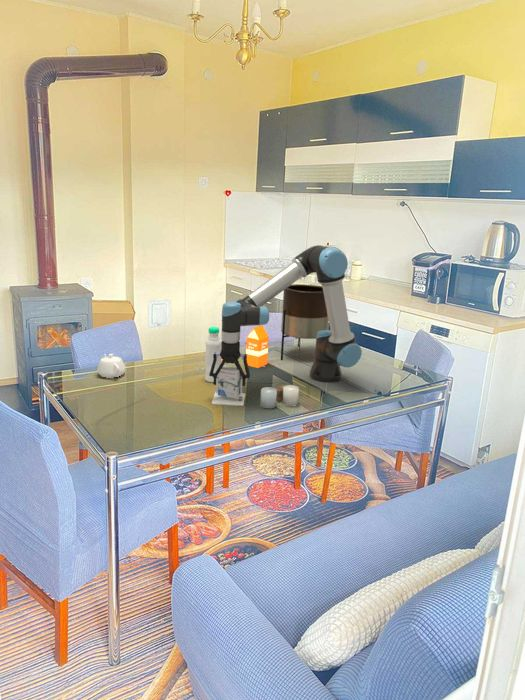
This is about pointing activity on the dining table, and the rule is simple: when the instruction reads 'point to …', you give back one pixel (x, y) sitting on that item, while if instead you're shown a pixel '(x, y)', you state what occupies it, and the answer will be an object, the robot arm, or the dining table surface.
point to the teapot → (111, 366)
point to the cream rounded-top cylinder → (290, 395)
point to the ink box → (229, 382)
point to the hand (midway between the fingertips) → (229, 392)
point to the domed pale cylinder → (268, 397)
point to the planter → (303, 312)
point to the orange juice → (257, 347)
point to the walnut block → (279, 393)
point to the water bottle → (212, 352)
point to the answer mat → (228, 400)
